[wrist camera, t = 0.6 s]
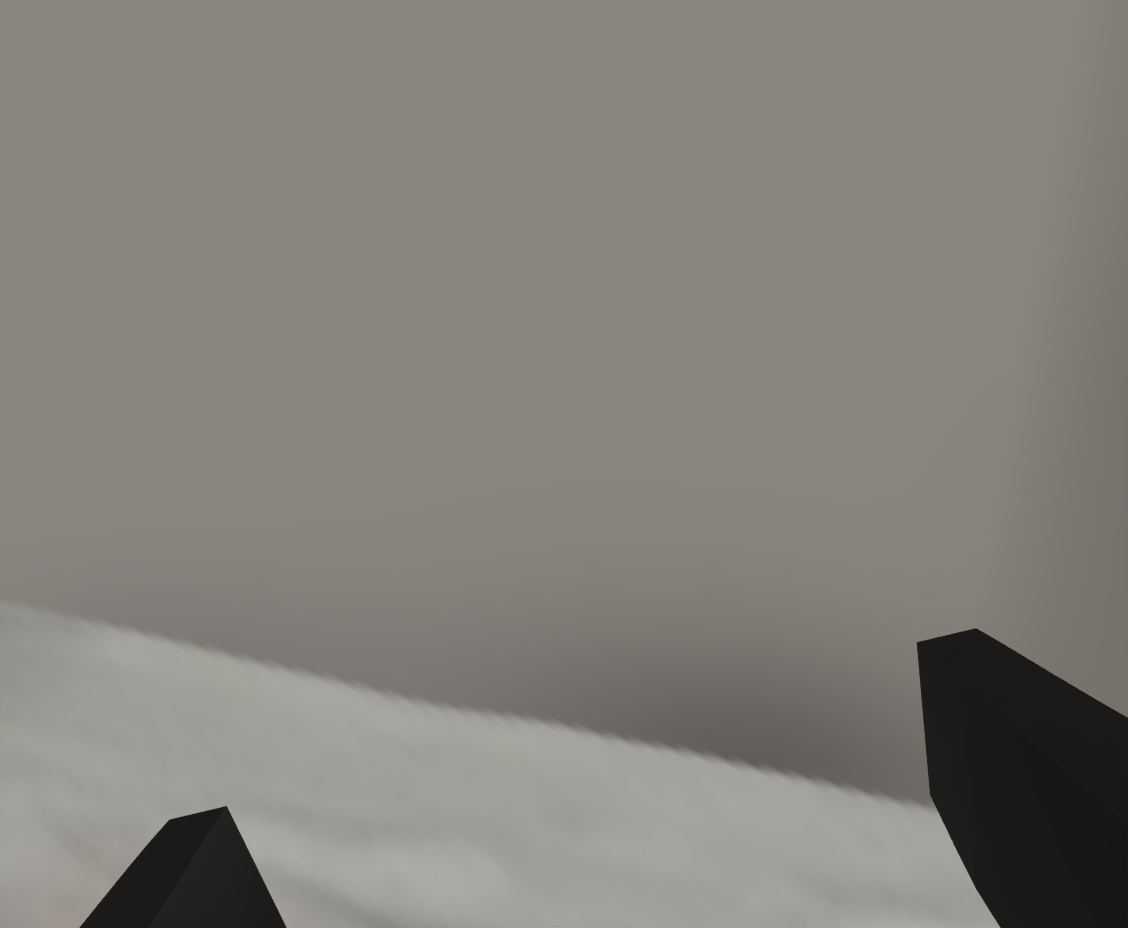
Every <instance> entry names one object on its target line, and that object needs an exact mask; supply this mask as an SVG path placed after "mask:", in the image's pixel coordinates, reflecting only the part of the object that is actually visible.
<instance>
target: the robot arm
mask: <svg viewBox="0 0 1128 928" xmlns="http://www.w3.org/2000/svg"><path fill="white" fill-rule="evenodd" d="M917 651H918V662H919V674H920V685H921V697H922V707H923V718H924V731H925V741H926V754H927V765H928V777H929V787H930V795H931V798H932V799H933V802H934V804H935V806H936V808H937V810H938V812H939V814H940V816H941V818H942V821H943V823H944V825H945V827H946V829H947V831H948V833H949V835H950V837H951V839H952V841H953V844H954V846H955V848H956V850H957V852H958V854H959V856H960V858H961V860H962V862H963V864H964V866H965V868H966V870H967V872H968V874H969V876H970V878H971V879H972V881H973V883H974V885H975V887H976V889H977V891H978V892H979V894H980V896H981V897H982V899H983V900H984V902H985V904H986V905H987V907H988V909H989V910H990V912H991V913H992V915H993V916H994V918H995V920H996V921H997V923H998V924H999V926H1000V928H1128V718H1127V717H1125V716H1124V715H1122V714H1120V713H1118V712H1117V711H1115V710H1113V709H1111V708H1110V707H1108V706H1106V705H1105V704H1103V703H1101V702H1099V701H1097V700H1096V699H1094V698H1093V697H1091V696H1089V695H1088V694H1086V693H1084V692H1082V691H1081V690H1079V689H1077V688H1076V687H1074V686H1072V685H1071V684H1069V683H1067V682H1066V681H1064V680H1062V679H1060V678H1059V677H1057V676H1055V675H1054V674H1052V673H1050V672H1049V671H1047V670H1045V669H1044V668H1042V667H1040V666H1039V665H1037V664H1035V663H1034V662H1032V661H1030V660H1028V659H1027V658H1026V657H1024V656H1022V655H1021V654H1019V653H1017V652H1016V651H1014V650H1012V649H1011V648H1009V647H1007V646H1006V645H1004V644H1002V643H1000V642H999V641H997V640H996V639H994V638H992V637H990V636H988V635H987V634H985V633H983V632H982V631H980V630H978V629H971V630H967V631H963V632H958V633H954V634H950V635H946V636H942V637H937V638H933V639H929V640H925V641H920V642H917ZM80 928H286V926H285V924H284V922H283V920H282V917H281V915H280V913H279V911H278V909H277V907H276V905H275V903H274V901H273V899H272V897H271V895H270V893H269V891H268V889H267V887H266V885H265V883H264V881H263V879H262V877H261V875H260V873H259V871H258V869H257V867H256V865H255V863H254V861H253V859H252V857H251V855H250V852H249V850H248V848H247V846H246V844H245V842H244V840H243V838H242V836H241V834H240V832H239V830H238V828H237V826H236V824H235V822H234V820H233V818H232V816H231V814H230V812H229V810H228V808H227V806H225V807H221V808H217V809H212V810H208V811H204V812H200V813H196V814H191V815H187V816H183V817H179V818H174V819H170V820H169V821H168V822H167V823H166V824H165V825H164V826H163V827H162V829H161V830H160V831H159V832H158V833H157V834H156V835H155V836H154V837H153V839H152V840H151V841H150V842H149V843H148V845H147V846H146V847H145V848H144V849H143V850H142V852H141V853H140V854H139V855H138V856H137V858H136V859H135V860H134V861H133V862H132V864H131V865H130V866H129V867H128V869H127V870H126V871H125V872H124V873H123V875H122V876H121V877H120V878H119V880H118V881H117V882H116V883H115V885H114V886H113V887H112V888H111V889H110V891H109V892H108V893H107V894H106V896H105V897H104V898H103V899H102V901H101V902H100V903H99V904H98V905H97V907H96V908H95V909H94V910H93V912H92V913H91V914H90V915H89V917H88V918H87V919H86V920H85V922H84V923H83V924H82V925H81V926H80Z"/></svg>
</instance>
